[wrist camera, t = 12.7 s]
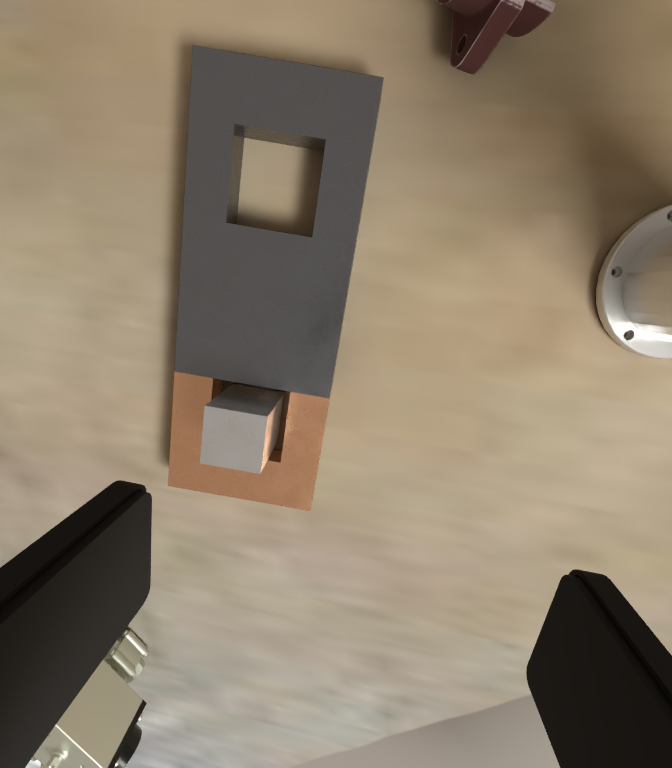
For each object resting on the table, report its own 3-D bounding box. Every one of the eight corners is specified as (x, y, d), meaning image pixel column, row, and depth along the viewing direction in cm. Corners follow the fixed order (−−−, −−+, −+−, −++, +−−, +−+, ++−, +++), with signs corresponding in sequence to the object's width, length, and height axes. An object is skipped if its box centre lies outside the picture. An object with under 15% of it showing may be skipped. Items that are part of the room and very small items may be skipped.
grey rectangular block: (284, 392, 35) (267, 416, 28) (277, 440, 36) (260, 474, 30) (233, 383, 35) (204, 405, 28) (228, 431, 36) (199, 463, 30)
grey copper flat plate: (381, 95, 29) (383, 77, 26) (313, 496, 38) (310, 510, 35) (206, 65, 29) (192, 45, 26) (179, 473, 38) (167, 485, 35)
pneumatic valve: (111, 600, 42) (19, 717, 31) (175, 668, 44) (112, 801, 33) (77, 620, 43) (-24, 740, 32) (142, 686, 45) (69, 821, 34)
